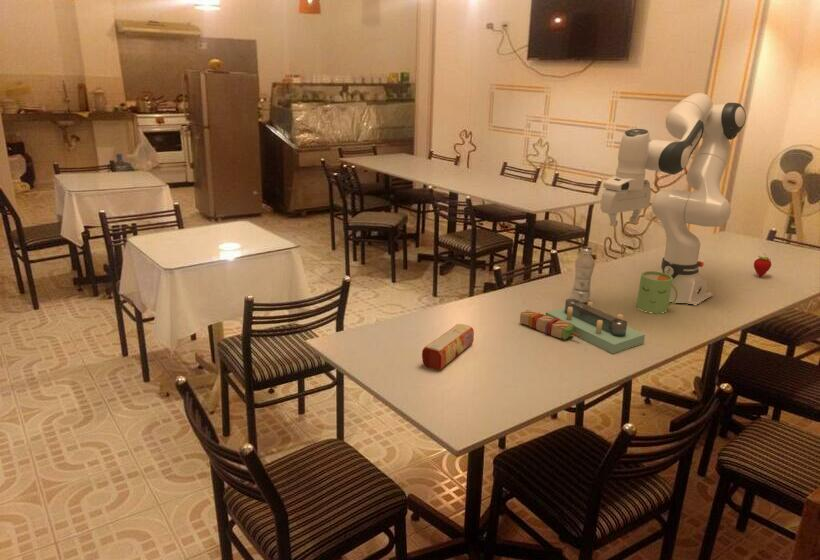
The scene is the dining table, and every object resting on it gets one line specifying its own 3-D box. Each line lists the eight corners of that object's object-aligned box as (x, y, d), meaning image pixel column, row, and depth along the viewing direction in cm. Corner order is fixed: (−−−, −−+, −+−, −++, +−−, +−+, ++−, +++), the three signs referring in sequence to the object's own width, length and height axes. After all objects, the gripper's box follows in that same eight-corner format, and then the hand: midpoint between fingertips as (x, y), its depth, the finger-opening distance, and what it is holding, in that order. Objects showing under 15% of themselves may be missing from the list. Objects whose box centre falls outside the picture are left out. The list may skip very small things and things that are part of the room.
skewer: (517, 325, 196) (518, 311, 195) (528, 320, 201) (529, 306, 199) (573, 346, 183) (575, 331, 181) (584, 340, 187) (586, 325, 185)
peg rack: (574, 312, 207) (577, 293, 205) (643, 343, 185) (647, 322, 183) (544, 320, 200) (546, 300, 198) (612, 353, 178) (615, 332, 176)
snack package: (455, 339, 186) (456, 319, 183) (475, 345, 182) (476, 324, 180) (420, 367, 168) (421, 345, 166) (441, 373, 165) (442, 351, 163)
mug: (633, 310, 210) (639, 278, 206) (638, 301, 219) (643, 269, 215) (673, 318, 204) (679, 284, 200) (676, 307, 213) (682, 275, 209)
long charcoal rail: (571, 309, 202) (572, 298, 201) (628, 335, 184) (630, 323, 182) (561, 311, 200) (562, 300, 198) (618, 338, 181) (620, 326, 180)
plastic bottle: (573, 297, 221) (579, 244, 214) (591, 301, 218) (598, 247, 211) (567, 302, 216) (574, 248, 209) (586, 306, 212) (593, 252, 206)
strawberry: (747, 276, 247) (752, 252, 244) (756, 273, 251) (762, 250, 248) (762, 280, 243) (768, 256, 239) (771, 277, 247) (777, 253, 243)
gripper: (642, 177, 201) (636, 218, 205) (599, 182, 190) (594, 225, 195) (658, 180, 196) (651, 222, 200) (616, 186, 185) (610, 230, 190)
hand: (623, 224), depth 198 cm, fingers open, 8 cm apart
